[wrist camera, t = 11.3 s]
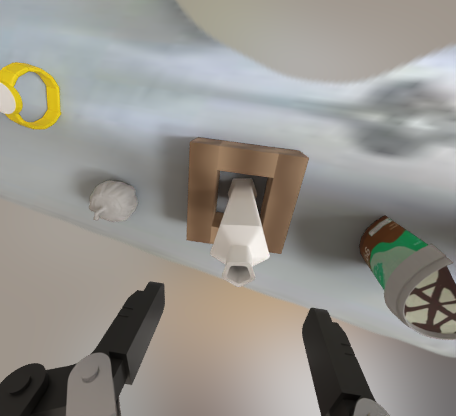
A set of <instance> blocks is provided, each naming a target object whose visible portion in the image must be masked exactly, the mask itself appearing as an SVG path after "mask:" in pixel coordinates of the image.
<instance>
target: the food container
mask: <svg viewBox="0 0 456 416" xmlns="http://www.w3.org/2000/svg"><path fill="white" fill-rule="evenodd" d="M359 248H360V253H361V255H362V257H363V259H364V260H365V262H366V263H367V265H368V266H369V268H370V269H371V271H372V272H373V274H374V275H375V277H376V279H377V280H378V282H379V283H380V285H381V286H382V288H383V289H384V298H385V303H386V305H387V307H388V308H389V309H390V311H391V312H392V313H393V314H394V315H395V316H396V317H398V318H399V319H400V320H401V321H402V322H403V323H404V324H405V325H407V326H408V327H410V328H412V329H413V330H414V331H416V332H417V333H419V334H421V335H424V336H427V337H430V338H435V339H442V340H456V284H455V282H454V280H453V278H452V276H451V274H450V272H449V270H448V267H447V265H450V264H452V263H453V262H452V261H451V260H450V259H448V258H447V257H446V255H445V254H443V253H442V252H441V251H440V250H438V249H437V248H436V247H435V246H434V245H432V244H430V245H428V244H426V243H425V242H423V241H422V240H420V239H419V238H418V237H416V236H415V235H413V234H412V233H410V232H409V231H407V230H406V229H404V228H403V227H401V226H400V225H399V224H397V223H396V222H394V221H393V220H391V219H390V218H388V217H387V216H383V217H381V218H380V219H378V220H376V221H375V222H374V223H373V224H372V225H371V226H370V227H368V228H367V230H366V231H365V233H364V234H363V236H362V237H361V241H360V246H359Z"/></svg>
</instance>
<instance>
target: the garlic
mask: <svg viewBox="0 0 456 416" xmlns="http://www.w3.org/2000/svg"><path fill="white" fill-rule="evenodd" d="M137 205H138V199H137V197H136V195H135V188H134V187H133V186H131V185H127V184H125V183H123V182H117V181H111V180H109V181H105V182H103V183H101V184H99V185H98V186H96V187H95V189H94V191H93V193H92V194H91V196H90V205H89V209H90V210H91V211H93V212H95V216H94V220H98V219H99V217H100V218H102V219H105V220H108V221H112V222H115V221H116V222H120V221H126V220H127V219H128V218H129V217H130V216H131V214H132V213H133V212H134V211H135V210H136V207H137Z"/></svg>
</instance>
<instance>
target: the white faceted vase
mask: <svg viewBox="0 0 456 416" xmlns="http://www.w3.org/2000/svg"><path fill="white" fill-rule="evenodd" d="M228 197H229V201H228V204H227V207H226V209H225V212H224V215H223V218H222V221H221V224H220V227H219V229H218V232H217V235H216V238H215V241H214V244H213V246H212V249H211V252H210V254H211V255H212V256H213V257H214V258H216V259H218V260H219V261H221V262H222V263H224V264H226V265H225V269H224V271H223V273H222V278H223V279H225V280H226V281H228V282H230V283H231V284H233V285H235V286H237V287H240V286H243V285H245V284H247V283H249V282H252V281H253V280H255V274H254V271H253V266H254V265H256V264H258V263H260V262H262V261H264V260H266V259H268V258H269V257H270V256H269V251H268V248H267V244H266V240H265V236H264V232H263V228H262V224H261V220H260V216H259V213H258V209H257V205H256V201H255V199H256V197H257V192H256V188H255V185H254V181H253V179H246V178H234V179H233V180H232V183H231V186H230V189H229V191H228Z"/></svg>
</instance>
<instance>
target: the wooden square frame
mask: <svg viewBox="0 0 456 416" xmlns="http://www.w3.org/2000/svg"><path fill="white" fill-rule="evenodd" d="M308 160H309V158H308V157H307V156H306V155H304V154H303V153H302V152H301V151H297V150H290V149H282V148H275V147H268V146H260V145H253V144H245V143H238V142H230V141H223V140H216V139H208V138H201V137H198V138H196V139H194V140H192V141H191V142H190V151H189V181H188V211H187V240H189V241H196V242H203V243H210V244H214V241H215V238H216V235H217V232H218V229H219V227H220V224H221V221H222V218H223V215H224V213H221V212H216V208H217V198H218V188H219V179H220V171H227V172H234V173H241V174H248V175H256V176H263V177H268V179H267V183H266V188H265V193H264V198H263V202H262V207H261V212H260V220H261V224H262V228H263V232H264V236H265V240H266V244H267V248H268V251H269V252H271V253H278V254H281V253H282V249H283V246H284V242H285V239H286V236H287V232H288V229H289V225H290V222H291V218H292V215H293V212H294V208H295V205H296V201H297V198H298V194H299V191H300V188H301V184H302V181H303V177H304V174H305V170H306V167H307V164H308Z"/></svg>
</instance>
